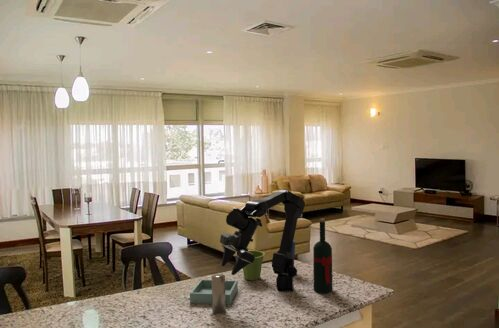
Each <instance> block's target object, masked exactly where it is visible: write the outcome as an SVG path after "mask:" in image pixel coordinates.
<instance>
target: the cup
mask: <svg viewBox="0 0 499 328" xmlns="http://www.w3.org/2000/svg"><path fill="white" fill-rule="evenodd" d="M295 253H296V241H295V239H293V244H292V249H291V254H292V257H293V266H294V267H295Z"/></svg>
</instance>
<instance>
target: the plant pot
mask: <svg viewBox="0 0 499 328" xmlns="http://www.w3.org/2000/svg"><path fill="white" fill-rule="evenodd" d="M248 252H250V253H252V254H253V255H255V260H254V262H253V263H251V262H250V263H251V264H248V265H247V266H245V267H244V268H242V270H243V271H242V272H243V277H244V279H245V280H248V281H258V280H259V279H260V278H261V273H262V266H263V260H264V256H265V254H266V253H265V252H264V251H260V250H248Z"/></svg>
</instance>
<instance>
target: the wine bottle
mask: <svg viewBox="0 0 499 328" xmlns="http://www.w3.org/2000/svg"><path fill="white" fill-rule="evenodd" d="M312 258H313V263H312V264H313V267H312V268H313V271H312V272H313V292H315V293H318V294H326V295H327V294H330V293H333V248H332V246H331V244H330V243H329V242H328V241H326V219H325V218H319V240H318V241H317V242H316V243H315V244H314V245H313V257H312Z"/></svg>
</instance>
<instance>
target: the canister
mask: <svg viewBox="0 0 499 328" xmlns="http://www.w3.org/2000/svg"><path fill="white" fill-rule="evenodd" d="M211 280H212V304H211V310H212V313H213V314H223V313H225V312H226V311H227V309H226V308H227V306H226V305H227V304H226V296H225V280H226V275H225V274H223V273H216V274H215V273H214V274H212V275H211Z"/></svg>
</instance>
